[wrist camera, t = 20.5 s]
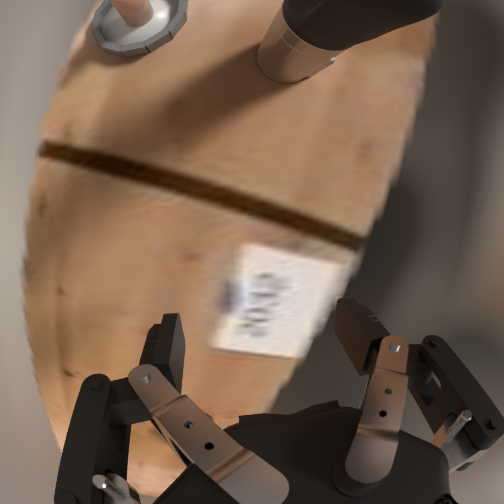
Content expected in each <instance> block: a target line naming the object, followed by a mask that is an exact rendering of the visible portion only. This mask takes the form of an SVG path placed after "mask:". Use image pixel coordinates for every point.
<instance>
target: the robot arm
mask: <svg viewBox="0 0 504 504" xmlns="http://www.w3.org/2000/svg"><path fill="white" fill-rule="evenodd" d="M443 4H444V0H284V1H283V3H282V5H281V7H280V8H279V10H278V12H277V14H276V16H275V18H274V19H273V21H272V23H271V25H270V27H269V29H268V30H267V32H266V34H265V36H264V38H263V40H262V42H261V43H260V45H259V48H258V51H257V62H258V65H259V67H260V69H261V70H262V71H263V72H264V73H265V74H266V75H267V76H268V77H270V78H271V79H273V80H275V81H278V82H282V83H292V82H296V81H299V80H301V79H303V78H304V77H312V76H314V75H315V74H317V73H318V72H320V71H321V70H323V69H325V68H326V67H328V66H330V65H331V64H333V63H334V60H335V59H334V57H336V56H337V55H339V54H340V53H342V52H343V51H345V50H347V49H348V48H350V47H352V46H354V45H356V44H359V43H362V42H365V41H369V40H372V39H374V38H377V37H379V36H381V35H383V34H386V33H388V32H391V31H393V30H396V29H398V28H401V27H404V26H407V25H410V24H413V23H416V22H419V21H422V20H424V19H426V18H429V17H431V16H433V15H434V14H436V13H437V12H438V11H439V10H440V9H441V8H442V6H443ZM334 331H335V334H336V336H337V337H338V339H339V341H340V342H341V344H342V346H343V348H344V349H345V351H346V353H347V355H348V356H349V358H350V360H351V362H352V363H353V365H354V367H355V369H356V370H357V372H358V374H359V376H362V375H366V374H368V375H369V379H368V383H367V386H366V389H365V392H364V395H363V398H362V401H361V404H360V407H359V409H356V408H352V407H344V406H339V404H338V402H337V400H335V401H331V402H327V403H322V404H317V405H313V406H311V407H309V408H306V409H304V410H301V411H299V412H297V413H294V414H291V415H283V414H267V413H262V414H253V415H243V416H239V423H236V424H234V425H231V426H229V427H227V428H225V429H223V430H222V429H221V428H220V427H219V426H218V425H217V424H216V423H215V422H214V421H212V420H211V419H210V418H209V417H208V416H207V415H206V414H205V413H204V412H203V411H202V410H201V409H200V408H199V407H198V406H197V405H196V404H195V403H194V402H193V401H192V400H191V399H190V398H189V397H188V396H187V395H185V394H184V395H181V388H182V377H183V366H184V357H185V338H184V333H183V328H182V324H181V319H180V315H179V313H171V314H164V315H163V319H162V323H161V324H154V325H153V326H152V327H151V329H150V330H149V331H148V335H147V339H146V341H145V345H144V348H143V352H142V355H141V359H140V362H139V366H137V367H135V368H133V369H132V370H131V371H130V373H129V375H128V377H126V378H123V379H118V380H113V381H110V379H109V378H108V377H107V376H106V375H104V374H93V375H91V376H89V377H87V378H86V379H85V380H84V381H83V383H82V386H81V389H80V392H79V395H78V398H77V401H76V404H75V407H74V411H73V414H72V418H71V421H70V425H69V428H68V432H67V436H66V440H65V444H64V448H63V452H62V457H61V461H60V466H59V472H58V477H57V482H56V489H55V495H54V503H55V504H141V502H140V497H139V494H138V492H137V491H136V489H135V488H134V487H132V486H131V485H130V484H129V483H128V482H127V466H128V453H129V443H130V433H131V425H132V424H134V423H139V422H143V421H148V420H149V421H150V422H151V424H152V425H153V426H154V428H155V429H156V430H157V431H158V433H159V434H160V435H161V437H162V438H163V439H164V440H165V442H166V443H167V444H168V445H169V447H170V448H171V449H172V451H173V452H174V453H175V455H176V456H177V457H178V458H179V460H180V461H181V462H182V463H183V464H184V465H185V466H186V467H187V468H186V469H185V470H184V471H183V472H182V473H181V474H180V476H179V477H178V478H177V479H176V480H175V481H174V482H173V483H172V484H171V485H170V486H169V487H168V488H167V489H166V490H165V491H164V492H163V493H162V494H161V495H160V496H159V497H158V498H157V499H156V500H155V501H154V503H153V504H458V503H457V502H456V501H455V500H454V499H453V498H452V496H451V493H450V488H449V473H451V472H453V471H454V470H457V471H462V470H465V469H466V468H468V467H469V466H470V465H471V464H472V463H473V462H475V461H476V460H477V459H478V458H479V457H480V456H481V455H482V454H483V453H485V452H486V451H487V450H488V449H489V448H490V447H491V446H492V445H493V444H494V443H495V442H496V441H497V440H498V439H499V438H500V437H501V436H502V435H503V434H504V418H503V416H502V415H501V413H500V412H499V410H498V409H497V407H496V406H495V404H494V403H493V402H492V401H491V399H490V398H489V396H488V395H487V394H486V392H485V391H484V389H483V388H482V387H481V385H480V384H479V383H478V381H477V380H476V379H475V377H474V376H473V375H472V374H471V373H470V371H469V370H468V369H467V367H466V366H465V365H464V364H463V362H462V361H461V360H460V359H459V357H458V356H457V355H456V354H455V353H454V351H453V350H452V349H451V348H450V347H449V346H448V344H447V343H446V342H445V341H444V340H443V339H442V338H440V337H438V336H435V335H428V336H426V337H425V338H424V339H423V341H422V343H421V344H408V343H407V342H406V340H404V339H403V338H401V337H399V336H394V335H390V333H389V332H388V331H387V330H386V328H385V327H384V326H383V325H382V324H381V322H380V321H378V319H377V317H376V316H374V314H373V313H372V312H371V310H370V309H368V308H367V307H365V306H363V305H359V304H358V303H357V301H356V300H355V299H354V298H353V297H347V298H340V299H338V301H337V305H336V312H335V318H334ZM434 374H435V375H436V377H437V378H438V379H439V381H440V383H441V389H440V387H439V386H438V385H437V383H436V382H435V380H434V379H433V375H434ZM407 387H408V389H409V390H410V392H411V394H412V396H413V397H414V399H415V401H416V402H417V404H418V406H419V408H420V410H421V411H422V413H423V415H424V417H425V418H426V420H427V422H428V424H429V425H430V428H431V430H432V431H433V433H434V436H433V444H431V443H429V442H427V441H424V440H422V439H420V438H418V437H415V436H413V435H411V434H409V433H407V432H404V431H402V430H400V429H399V428H400V423H401V418H402V413H403V408H404V403H405V397H406V391H407Z"/></svg>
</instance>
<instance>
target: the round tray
mask: <svg viewBox="0 0 504 504" xmlns="http://www.w3.org/2000/svg"><path fill="white" fill-rule="evenodd" d="M149 1H150V3H151V6H152V8H153V10H154V15H153V17H152V19H151V20H150V21H149V22H148V23H147V24H145V25H143V26H140V27H130V26H128V25H127V24H126V23H125V21H124V20H123V18H122V17H121V16H120V14H119V13H118V12H117V10H116V9H115V8H114V6H113V5H112V4H111V2H110V1H109V0H104V2H103V3H102V4H101V5H100V7H99V8H98V9H97V11H96V12H95V14H94V19H93V24H92V30H91V31H92V32H91V33H92V34H93V36H94V37H95V39H96V41H97V42H98V44H99V46H100V47H102V48H103V49H104V50H105V51H107V52H110V53H113V54H116V55H120V56H123V57H129V56H134V55H140V54H146V53H149V51H150V52H152V51H153V50H155V49H157V48H158V47H160V46H162V45H163V44H165V43H167V42H169V41H170V40H172V39H171V38H174V37H175V35H176V34H177V33H178V31H179V30H180V29H181V27H182V26H183V25H184V24H185V22H186V20H187V9H188V0H149Z"/></svg>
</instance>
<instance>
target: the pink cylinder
mask: <svg viewBox="0 0 504 504" xmlns="http://www.w3.org/2000/svg"><path fill="white" fill-rule="evenodd" d="M109 1H110V2H111V4H112V5H113V6H114V8H115V9H116V10H117V12H118V13H119V14H120V16H121V17H122V18H123V20H124V21H125V23H126V24H127V25H128V26H130V27H140V26H143V25H145V24H147V23H148V22H149V21H150V20H151V19H152V17H153V15H154V10H153V8H152V6H151V3H150V1H149V0H109Z"/></svg>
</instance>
